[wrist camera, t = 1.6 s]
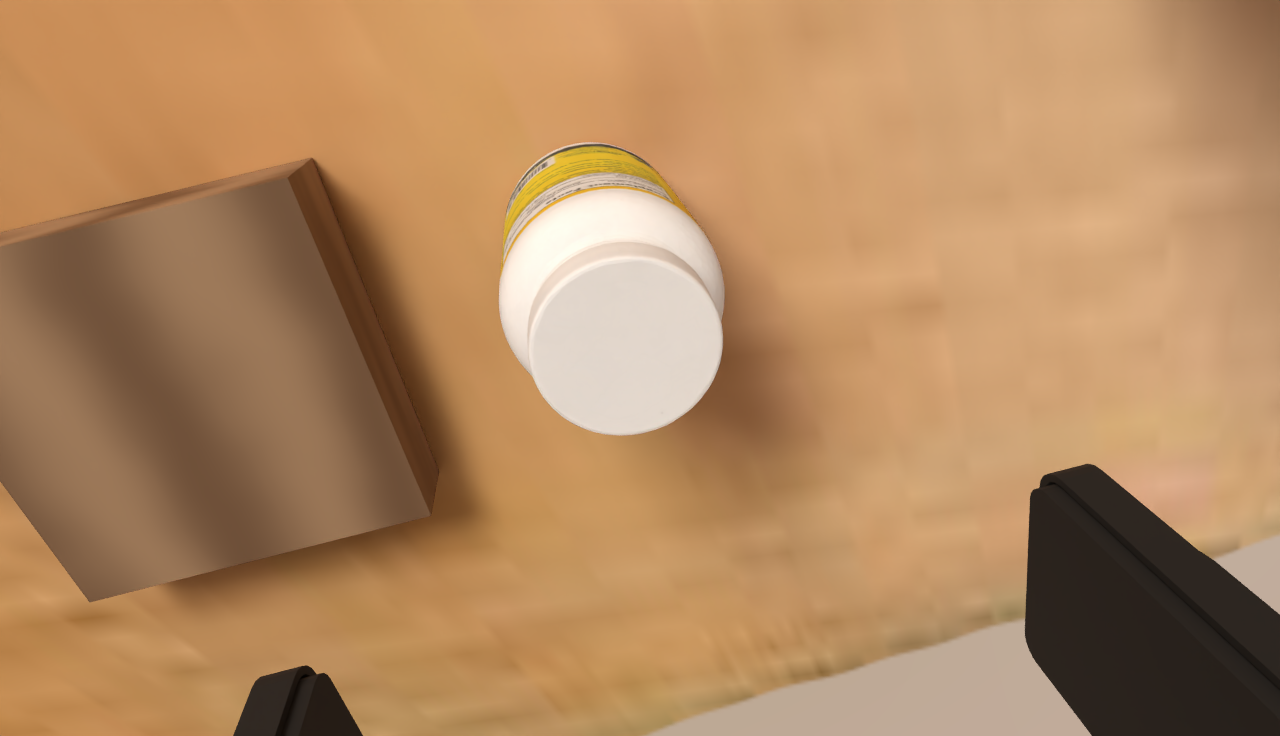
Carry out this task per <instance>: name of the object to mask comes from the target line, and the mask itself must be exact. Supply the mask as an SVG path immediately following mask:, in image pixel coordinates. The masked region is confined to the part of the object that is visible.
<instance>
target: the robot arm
mask: <svg viewBox="0 0 1280 736" xmlns="http://www.w3.org/2000/svg"><path fill="white" fill-rule="evenodd" d="M1025 638H1026V642H1027V645H1028V648H1029V650H1030V652H1031V654H1032V656H1033V658H1034V660H1035V661H1036V663H1037V664H1038V665H1039V667H1040V668H1041V669H1042V671H1043V672H1044V673H1045V675H1046V676H1047V677H1048V679H1049V680H1050V681H1051V682H1052V684H1053V685H1054V686H1055V688H1056V689H1057V690H1058V692H1059V693H1060V694H1061V695H1062V697H1063V698H1064V699H1065V701H1066V702H1067V703H1068V705H1069V706H1070V707H1071V708H1072V710H1073V711H1074V713H1075V714H1076V715H1077V717H1078V718H1079V719H1080V720H1081V722H1082V723H1083V724H1084V726H1085V727H1086V728H1087V730H1088V731H1089V732H1090V734H1091V735H1092V736H1280V615H1279V614H1278V613H1277V612H1276V611H1274V610H1273V609H1272V608H1271V607H1270V606H1268V605H1267V604H1266V603H1265V602H1264V601H1262V600H1261V599H1260V598H1259V597H1258V596H1256V595H1255V594H1254V593H1253V592H1252V591H1250V590H1249V589H1248V588H1247V587H1245V586H1244V585H1243V584H1242V583H1241V582H1239V581H1238V580H1237V579H1236V578H1235V577H1233V576H1232V575H1231V574H1230V573H1228V572H1227V571H1226V570H1225V569H1224V568H1222V567H1221V566H1220V565H1219V564H1218V563H1216V562H1215V561H1214V560H1212V559H1211V558H1209V557H1208V556H1206V555H1205V554H1203V553H1202V552H1200V551H1198V550H1197V549H1196V548H1195V547H1194V546H1192V545H1191V544H1190V543H1189V542H1188V541H1186V540H1185V539H1184V538H1183V537H1182V536H1180V535H1179V534H1178V533H1177V532H1175V531H1174V530H1173V529H1172V528H1171V527H1169V526H1168V525H1167V524H1166V523H1165V522H1163V521H1162V520H1161V519H1160V518H1159V517H1157V516H1156V515H1155V514H1154V513H1153V512H1151V511H1150V510H1149V509H1148V508H1147V507H1145V506H1144V505H1143V504H1142V503H1141V502H1139V501H1138V500H1137V499H1136V498H1135V497H1133V496H1132V495H1131V494H1130V493H1129V492H1127V491H1126V490H1125V489H1124V488H1123V487H1121V486H1120V485H1119V484H1118V483H1117V482H1115V481H1114V480H1113V479H1112V478H1111V477H1109V476H1108V475H1107V474H1106V473H1104V472H1103V471H1102V470H1101V469H1099V468H1098V467H1096V466H1095V465H1091V464H1085V465H1081V466H1077V467H1073V468H1069V469H1065V470H1062V471H1058V472H1054V473H1050V474H1047V475H1044V476H1043V478H1042V479H1041V482H1040V487H1039V488H1038V489H1034V490H1033V491H1032V493H1031V496H1030V514H1029V540H1028V566H1027V591H1026V617H1025ZM233 736H363V735H362V733H361V731H360V730H359V728H358V726H357V724H356V723H355V721H354V719H353V717H352V716H351V714H350V712H349V710H348V709H347V707H346V705H345V703H344V702H343V700H342V698H341V696H340V695H339V693H338V691H337V689H336V688H335V686H334V684H333V682H332V681H331V679H330V678H329V676H328V675H327V674H325V673H321V674H316V673H315V672H314V670H313V669H312V668H311V667H309V666H301V667H297V668H293V669H289V670H285V671H281V672H277V673H274V674H270V675H266V676H262V677H260V678H259V679H258V680H256V681H255V683H254V685H253V687H252V689H251V691H250V694H249V697H248V699H247V702H246V704H245V707H244V709H243V712H242V715H241V717H240V720H239V722H238V725H237V727H236V730H235V733H234V735H233Z"/></svg>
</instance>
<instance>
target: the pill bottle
mask: <svg viewBox="0 0 1280 736" xmlns="http://www.w3.org/2000/svg"><path fill="white" fill-rule="evenodd" d="M724 301H725V288H724V281H723V275H722V270H721V267H720V264H719V261H718V258H717V256H716V253H715V251H714V249H713V247H712V245H711V243H710V241H709V239H708V238H707V236H706V235H705V233H704V232H703V230H702V229H701V228H700V226H699V225H698V224H697V222H696V221H695V220H694V218H693V217H692V216H691V214H690V213H689V212H688V210H687V209H686V208H685V206H684V205H683V204H682V203H681V201H680V200H679V199H678V197H677V196H676V194H675V193H674V192H673V191H672V189H671V188H670V187H669V186H668V185H667V183H666V182H665V181H664V179H663V178H662V177H661V176H660V175H659V173H658V172H657V171H656V170H655V169H654V168H653V167H652V166H651V165H650V164H648V163H647V162H646V161H645V160H643V159H642V158H641V157H639V156H637V155H636V154H634V153H632V152H630V151H628V150H625V149H623V148H621V147H618V146H614V145H610V144H606V143H597V142H584V143H576V144H572V145H568V146H565V147H561V148H559V149H556V150H554V151H552V152H550V153H548V154H547V155H545V156H543V157H542V158H540V159H539V160H538V161H537V162H536V163H534V164H533V165H532V166H531V167H530V168H529V169H528V170H527V171H526V173H525V174H524V175H523V176H522V178H521V179H520V180H519V182H518V184H517V185H516V187H515V189H514V191H513V193H512V195H511V198H510V201H509V204H508V207H507V211H506V217H505V225H504V238H503V252H502V263H501V273H500V287H499V310H500V318H501V323H502V327H503V330H504V333H505V336H506V339H507V341H508V343H509V345H510V347H511V349H512V351H513V353H514V354H515V356H516V357H517V359H518V360H519V362H520V363H521V364H522V366H523V367H524V368H525V369H526V370H527V371H528V372H529V373H530V374H531V375H532V376H533V379H534V381H535V383H536V386H537V388H538V389H539V391H540V393H541V394H542V396H543V397H544V399H545V400H546V401H547V402H548V404H549V405H550V406H551V407H552V408H553V409H554V410H555V411H556V412H558V413H559V414H560V415H561V416H562V417H564V418H565V419H566V420H568V421H570V422H571V423H573V424H575V425H577V426H579V427H581V428H584V429H587V430H590V431H593V432H597V433H601V434H607V435H636V434H641V433H646V432H649V431H653V430H656V429H658V428H661V427H664V426H666V425H668V424H670V423H672V422H673V421H675V420H677V419H678V418H680V417H681V416H683V415H684V414H685V413H687V412H688V411H689V410H690V409H692V408H693V407H694V406H695V405H696V404H697V403H698V402H699V401H700V399H701V398H702V397H703V395H704V394H705V393H706V392H707V390H708V388H709V387H710V385H711V384H712V382H713V380H714V378H715V375H716V373H717V371H718V368H719V365H720V362H721V356H722V349H723V330H722V323H721V321H722V316H723V310H724Z"/></svg>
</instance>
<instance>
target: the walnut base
mask: <svg viewBox="0 0 1280 736" xmlns="http://www.w3.org/2000/svg"><path fill="white" fill-rule="evenodd" d="M438 474H439V470H438V467H437V465H436V462H435V460H434V458H433V455H432V453H431V450H430V448H429V445H428V443H427V440H426V438H425V435H424V433H423V430H422V428H421V425H420V423H419V421H418V418H417V416H416V413H415V411H414V408H413V406H412V403H411V401H410V398H409V396H408V393H407V391H406V388H405V386H404V383H403V381H402V379H401V376H400V374H399V371H398V369H397V366H396V364H395V361H394V359H393V356H392V354H391V351H390V349H389V346H388V344H387V341H386V339H385V337H384V334H383V332H382V329H381V327H380V324H379V322H378V319H377V317H376V314H375V312H374V309H373V307H372V304H371V302H370V300H369V297H368V295H367V292H366V290H365V287H364V285H363V282H362V280H361V277H360V275H359V272H358V270H357V267H356V265H355V262H354V260H353V258H352V255H351V253H350V250H349V248H348V245H347V243H346V240H345V238H344V235H343V233H342V230H341V228H340V225H339V223H338V221H337V218H336V216H335V213H334V211H333V208H332V206H331V203H330V201H329V198H328V196H327V193H326V191H325V188H324V186H323V183H322V181H321V179H320V176H319V174H318V171H317V169H316V166H315V164H314V161H313V159H312V158H309V159H305V160H301V161H297V162H293V163H288V164H284V165H280V166H276V167H272V168H268V169H263V170H259V171H255V172H251V173H247V174H243V175H238V176H234V177H230V178H226V179H222V180H218V181H214V182H209V183H205V184H201V185H197V186H193V187H189V188H184V189H180V190H176V191H172V192H168V193H164V194H159V195H155V196H151V197H147V198H143V199H139V200H135V201H130V202H126V203H122V204H118V205H114V206H110V207H105V208H101V209H97V210H93V211H89V212H85V213H80V214H76V215H72V216H68V217H64V218H60V219H56V220H51V221H47V222H43V223H39V224H35V225H31V226H26V227H22V228H18V229H14V230H10V231H6V232H1V233H0V482H1V483H2V484H3V486H4V487H5V488H6V490H7V491H8V492H9V494H10V495H11V497H12V498H13V499H14V501H15V502H16V503H17V505H18V506H19V507H20V509H21V510H22V511H23V513H24V514H25V515H26V517H27V518H28V520H29V521H30V522H31V524H32V525H33V526H34V528H35V529H36V530H37V532H38V533H39V534H40V536H41V537H42V539H43V540H44V541H45V543H46V544H47V545H48V547H49V548H50V549H51V551H52V552H53V553H54V555H55V556H56V557H57V559H58V560H59V562H60V563H61V564H62V566H63V567H64V568H65V570H66V571H67V572H68V574H69V575H70V576H71V578H72V579H73V580H74V582H75V583H76V585H77V586H78V587H79V589H80V590H81V591H82V593H83V594H84V595H85V597H86V598H87V599H88V601H89V602H93V601H97V600H101V599H105V598H109V597H113V596H117V595H121V594H125V593H128V592H132V591H136V590H140V589H144V588H148V587H152V586H156V585H160V584H164V583H168V582H172V581H176V580H180V579H184V578H188V577H192V576H196V575H199V574H203V573H207V572H211V571H215V570H219V569H223V568H227V567H231V566H235V565H239V564H243V563H247V562H251V561H255V560H259V559H263V558H267V557H271V556H274V555H278V554H282V553H286V552H290V551H294V550H298V549H302V548H306V547H310V546H314V545H318V544H322V543H326V542H330V541H334V540H338V539H342V538H346V537H349V536H353V535H357V534H361V533H365V532H369V531H373V530H377V529H381V528H385V527H389V526H393V525H397V524H401V523H405V522H409V521H413V520H417V519H420V518H424V517H428V516H431V513H432V508H433V502H434V496H435V491H436V485H437V480H438Z"/></svg>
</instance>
